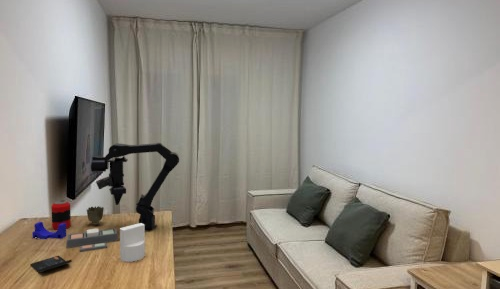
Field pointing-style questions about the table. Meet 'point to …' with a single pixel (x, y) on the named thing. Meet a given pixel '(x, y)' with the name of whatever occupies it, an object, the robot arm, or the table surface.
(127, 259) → the cylinder with rectangular tab
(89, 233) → the cream key
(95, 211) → the cup
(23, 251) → the table surface
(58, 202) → the soda can
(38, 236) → the cable clip
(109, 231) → the sage key
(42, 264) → the calculator
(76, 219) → the table surface
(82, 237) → the terracotta key
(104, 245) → the strip
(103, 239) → the keypad
